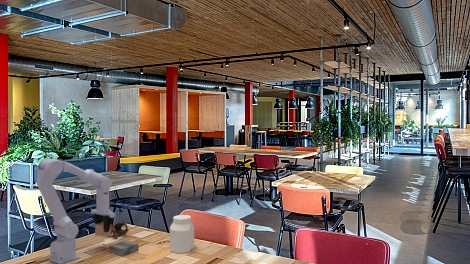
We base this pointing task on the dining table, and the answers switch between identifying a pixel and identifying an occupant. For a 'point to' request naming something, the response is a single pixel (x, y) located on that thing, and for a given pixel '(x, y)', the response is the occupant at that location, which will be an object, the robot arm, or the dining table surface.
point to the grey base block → (123, 248)
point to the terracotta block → (101, 230)
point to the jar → (181, 234)
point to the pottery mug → (118, 229)
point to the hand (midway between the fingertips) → (102, 230)
